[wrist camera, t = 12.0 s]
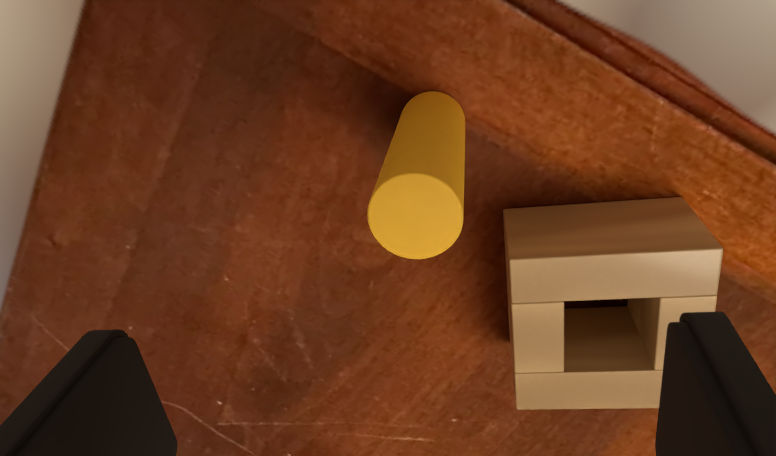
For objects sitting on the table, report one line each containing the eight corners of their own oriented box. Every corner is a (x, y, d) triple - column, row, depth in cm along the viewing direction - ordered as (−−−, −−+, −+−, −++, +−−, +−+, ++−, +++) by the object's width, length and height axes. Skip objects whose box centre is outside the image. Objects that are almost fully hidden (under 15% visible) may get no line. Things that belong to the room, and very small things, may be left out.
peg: (396, 94, 27) (360, 176, 18) (462, 87, 26) (459, 169, 17) (404, 156, 28) (374, 262, 19) (467, 151, 27) (467, 257, 19)
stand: (502, 208, 29) (508, 259, 24) (682, 196, 27) (723, 248, 23) (509, 343, 32) (516, 409, 28) (669, 338, 31) (702, 407, 26)
